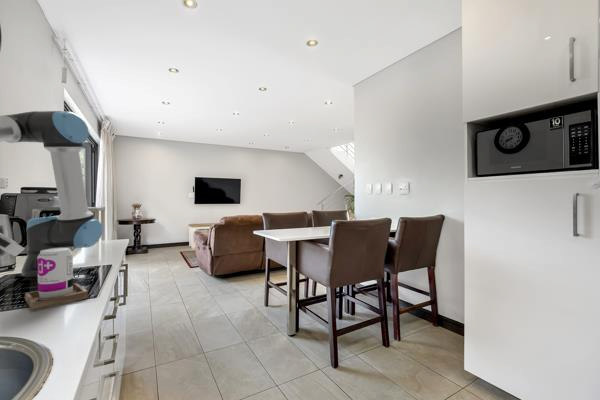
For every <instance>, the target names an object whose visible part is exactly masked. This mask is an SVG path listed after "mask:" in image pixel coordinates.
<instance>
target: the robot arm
mask: <svg viewBox="0 0 600 400" xmlns="http://www.w3.org/2000/svg"><path fill="white" fill-rule="evenodd" d="M89 135H90V132H89V128H88V126H87V124H86V121H85V120H84V119H83V118H82V117H81V116H80V115H78V114H77V113H74V112H72V111H65V110H64V111H63V110H52V111H51V110H45V111H44V110H42V111H41V110H40V111H36V110H35V111H33V110H32V111H27V112H21V113H13V114H6V115H2V114H1V115H0V143H1V142H2V143H3V142H6V143H10V144H14V143H15V144H16V143H42V144H43V148H44V149H45V150H47V151H48V152H49V153H50V160H51V162H52V163H51V164H52V169H53V170H52V171H53V175H54V181H55V186H56V191H57V192H56V193H57V197H58V198H57V199H58V202H59V203H58V204H59V208H60V209H59V210H60V214H59V215H53V216H44V217H36V218H35V217H34V218H30V219H28V220H27V222H26V223H27V224H26V247H27V248H25V247H23V246H22V245H20V244H18V242H17V241H15V240H13V239H11V238H10V237H8V236H6V235H5V234H3V233H1V232H0V249H1V250H2V251H3V252H6V253H7V254H10V255H11V256H13V257H15V258H16V257H17V256H19V254H21V253H22V252H23V251H25V249H26V250H27V254H26V255H27V256H26V259H25V261H24V263H23V266H22V268H21V276H22V277H25V278H38V262H37V257H38V255H39V254H40V251H42V250H45V249H51V248H70V249H71V248H73V249H75V248H76V249H82V248H84V249H85V248H91V247H93V246H94V245H97V243H98V242H99V241H100V239H101V237H102V236H103V235H102V234H103V231H104V230H103V229H104V226H103V224H102V223H101V221H100V220H98V219H96V218H95V217H94V212H92V211H90V210H89V207H88V201H87V200H88V199H87V194H86V193H87V192H86V187H85V182H84V176H83V168H82V167H83V166H82V163H81V156H80V151H81V150H83V149H84V144H83V143H84V142H87V140H88V138H89Z"/></svg>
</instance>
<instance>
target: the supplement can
mask: <svg viewBox="0 0 600 400" xmlns="http://www.w3.org/2000/svg"><path fill="white" fill-rule="evenodd" d="M73 254H74V252H73V251H72V249H71V248H69V247H65V248H51V249H45V250H42V251H40V254H39V255H38V257H37V262H38V277H37V291H38V299H40V300H41V301H43V300H48V299H52V298H56V297H61V296H65V295H69V294H72V293H73V283H74V263H73V262H74V256H73Z"/></svg>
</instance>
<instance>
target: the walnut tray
mask: <svg viewBox="0 0 600 400" xmlns="http://www.w3.org/2000/svg"><path fill="white" fill-rule="evenodd" d="M88 293H89V292H88V290H87V289H85V288H84V287H83V286H82V285H80V284H79V283H77V282H73V293H72V294H69V295H65V296H61V297H56V298H52V299H48V300H43V301H41V300H40V299H38V290H33V291H30V292H25V293H24V300H25V302H26V304H27V305H28V306H29V308H30V309H31V311H32V312H36V311H40V310H41V311H42V310H45V309H49V308H51V307H57V306H60V305H64V304H69V303H72V302H78V301H80V300H85V299H88V298H89V297H88V296H89V295H88Z"/></svg>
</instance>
